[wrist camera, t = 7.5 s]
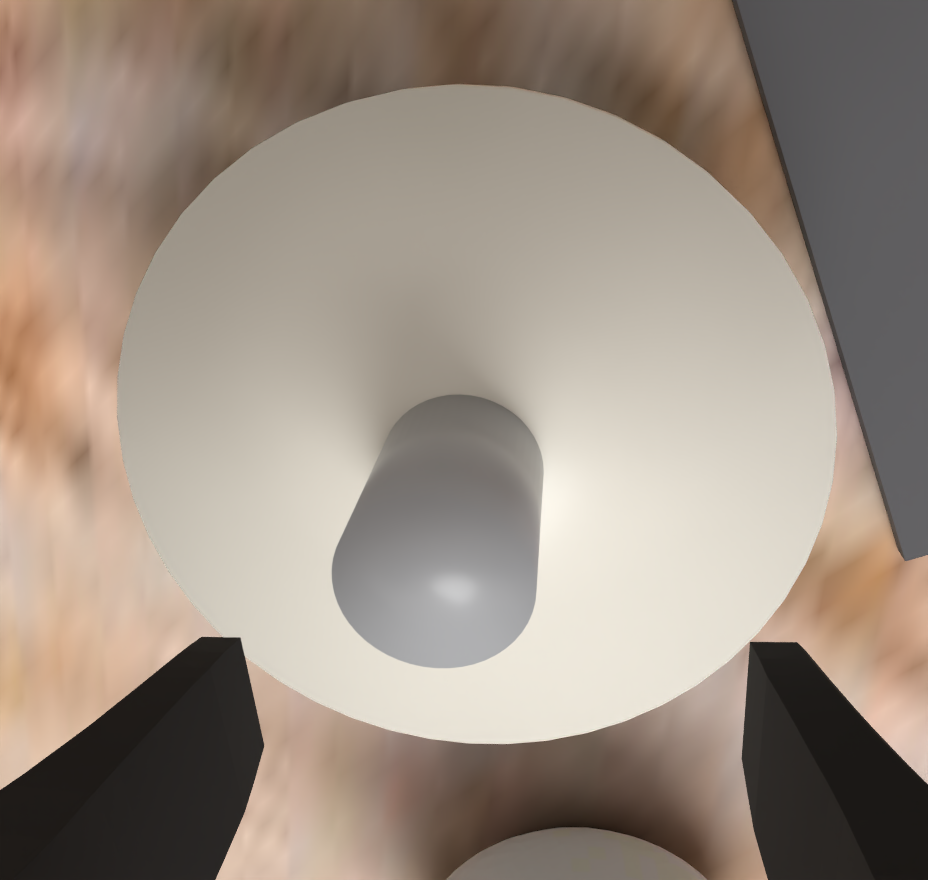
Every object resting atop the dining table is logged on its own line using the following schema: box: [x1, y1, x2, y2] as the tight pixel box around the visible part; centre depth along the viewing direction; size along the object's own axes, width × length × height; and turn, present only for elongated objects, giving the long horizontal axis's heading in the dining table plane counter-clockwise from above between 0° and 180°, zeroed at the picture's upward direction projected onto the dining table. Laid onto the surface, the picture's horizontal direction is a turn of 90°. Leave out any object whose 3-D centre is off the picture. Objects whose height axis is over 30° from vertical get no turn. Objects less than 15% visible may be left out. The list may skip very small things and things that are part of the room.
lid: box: [117, 84, 837, 744], centre depth 16 cm, size 14×14×5 cm
